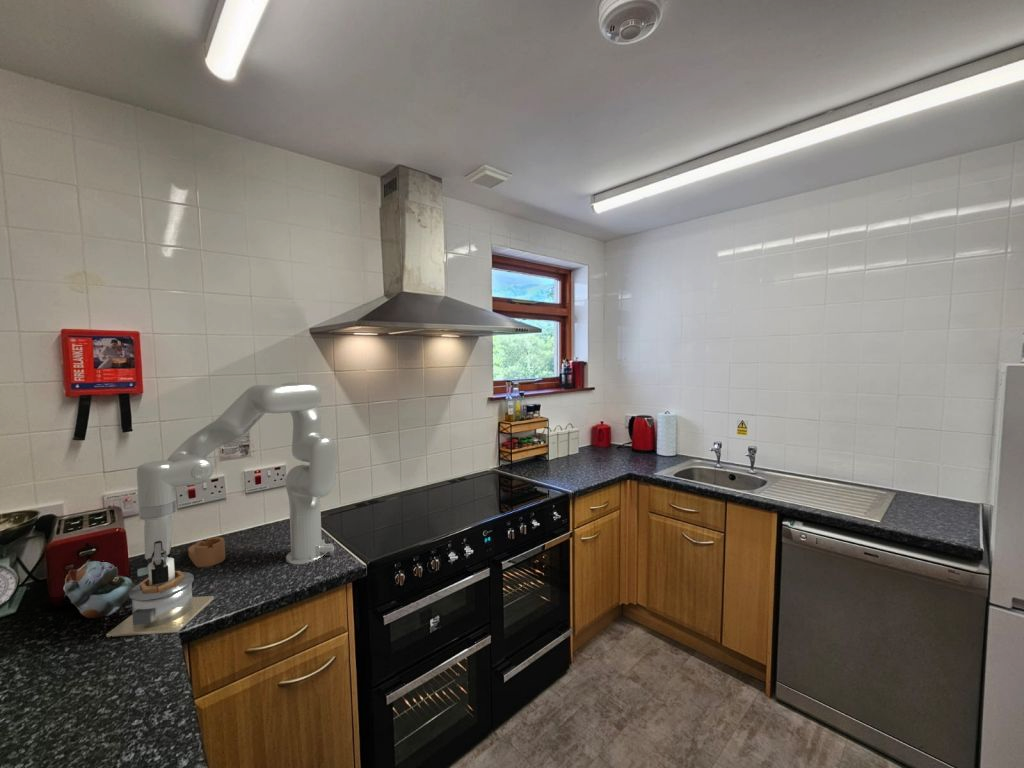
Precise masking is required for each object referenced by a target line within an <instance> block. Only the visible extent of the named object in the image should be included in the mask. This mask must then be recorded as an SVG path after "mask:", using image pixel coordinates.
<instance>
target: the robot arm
mask: <svg viewBox="0 0 1024 768" xmlns="http://www.w3.org/2000/svg"><path fill="white" fill-rule="evenodd" d="M322 398H323V393H322V390H321V388H320V387H318V385H315V384H314V383H310V382H309V383H308V382H284V383H282V384H281V385H280V384H279V385H278V384H277V385H276V384H256V385H252V386H249V387H248V388H247V389H246V390H245V391H244V392H243V393H241V395H239V397H238V398H237V399H236V400H235V401H233V402H232V403H231V405H229V407H227V408H226V410H225V411H223V413H221V415H220V416H219V417H218V418H217V419H215V420H213V421H212V422H210V423H209V424H207V425H205V426H204V427H203V428H201V429H200V430H198V431H196V432H195V433H193V434H192V435H190V436H189V437H188V438H187V439H186V440H185V441H183V443H181V444H180V446H178V447H177V448H176V449H175V451H173V452H172V453H171V454H170V456H169V457H168V458H167V459H166V460H155V461H148V462H144V463H142V464H140V465H139V466H138V467H137V469H136V481H137V482H136V483H137V500H138V501H137V503H138V519H139V520H140V521H144V528H143V529H144V530H143V531H144V532H143V533H144V534H143V535H144V536H143V537H144V538H143V539H144V540H143V541H144V559H145V560H146V561H147V560H149V559H151V562H152V569H151V572H152V584H153V585H155V584H159V583H163V582H167V581H168V580H169V575H168V565H167V557H168V558H171V548H172V541H173V519H172V517H173V515H176V514H177V513H178V504H177V503H178V502H177V487H186V486H196V485H200V484H203V483H204V482H206V481H208V480H209V479H210V478H211V477H212V475H213V473H214V471H215V470H214V469H215V468H214V465H213V463H212V462H211V460H209V458H208V459H207V458H206V457H208V456H209V455H210V454H211V453H213V452H214V451H215V450H217V449H218V448H220V447H223V446H224V445H227V444H230V443H234V442H236V441H238V440H241V439H242V438H243V437H245V436H246V435H247V434H248V432H250V430H252V428H253V427H254V426H255V425H256V424H257V423H258V422H259V421H260V420H261V419H262V417H263V416H265V414H285V413H290V414H291V418H292V427H293V429H292V438H291V439H292V442H291V453H292V456H293V457H294V459H296V460H298V461H301V462H305V463H309V464H299V465H296V466H294V467H292V468H291V469H289V471H288V472H287V474H286V476H285V487H286V488H285V489H286V492H287V496H288V504H289V527H290V529H289V530H290V551H289V552H288V553H287V554H286V556H285V561H286V562H287V563H288V564H291V565H306V564H305V563H307V564H310V563H309V562H311V563H314V562H316V561H315V560H317V561H319V560H320V559H319V558H321V557H323V556H324V555H325V554H326V553H327V554H328V552H329V553H330V552H334V551H335V546H334V543H326V541H325V539H322V515H321V514H322V513H321V510H322V509H321V508H322V507H321V506H322V505H321V504H322V503H321V499H320V498H325V497H327V496H328V495H329V494H330V493H331V492H332V491H333V489H334V488H335V484H336V477H337V461H338V449H337V445H336V442H335V441H334V440H333V439H332V438H331V437H330V436H327V435H324V434H322V433H321V424H322V421H321V420H322V419H321V413H320V411H319V409H318V406H319V405H320V403H321V402H322V400H323V399H322ZM327 554H326V555H327ZM326 555H325V556H326ZM325 556H324V557H325ZM163 557H164V560H163V559H161V558H163ZM324 557H323V558H324ZM318 559H319V560H318ZM321 559H322V558H321ZM163 561H164V562H163ZM313 561H314V562H313Z"/></svg>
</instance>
